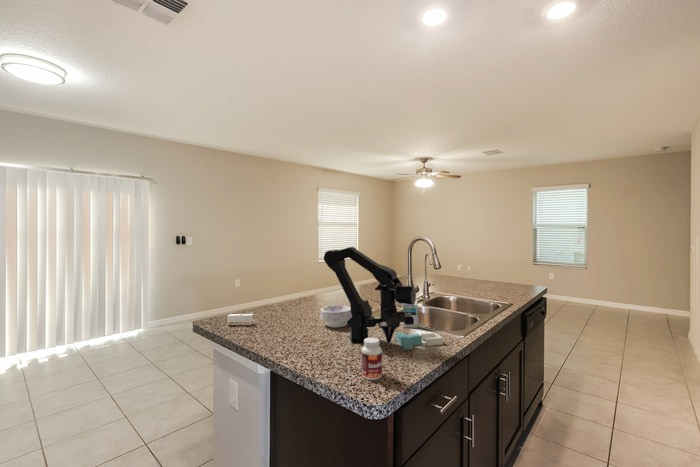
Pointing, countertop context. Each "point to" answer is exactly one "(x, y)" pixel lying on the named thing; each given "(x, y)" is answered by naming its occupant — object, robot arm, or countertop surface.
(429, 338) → the t dock
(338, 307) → the paper bowls
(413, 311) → the light bulb box
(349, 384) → the countertop surface
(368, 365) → the pill bottle
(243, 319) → the napkin holder
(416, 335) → the t block
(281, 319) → the countertop surface
